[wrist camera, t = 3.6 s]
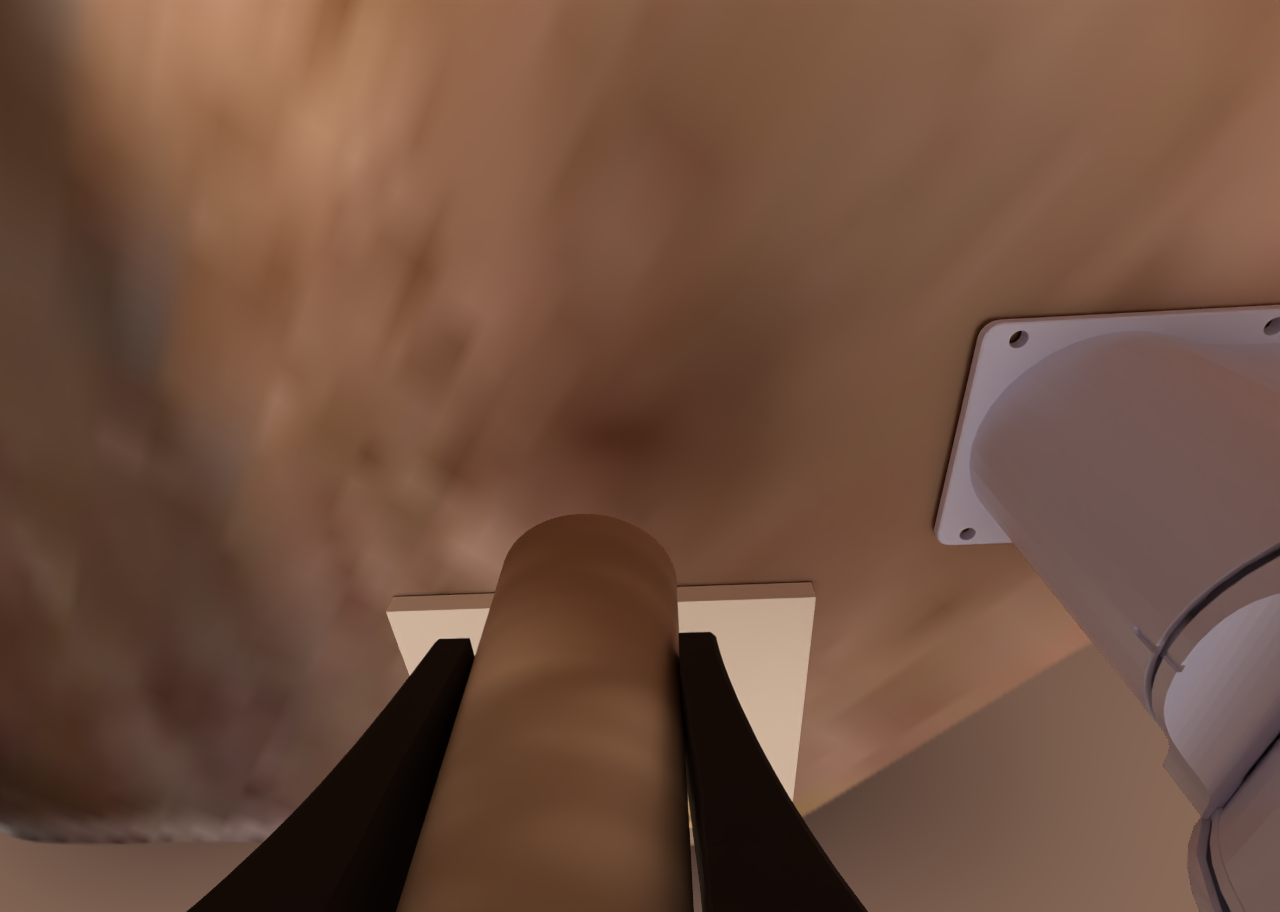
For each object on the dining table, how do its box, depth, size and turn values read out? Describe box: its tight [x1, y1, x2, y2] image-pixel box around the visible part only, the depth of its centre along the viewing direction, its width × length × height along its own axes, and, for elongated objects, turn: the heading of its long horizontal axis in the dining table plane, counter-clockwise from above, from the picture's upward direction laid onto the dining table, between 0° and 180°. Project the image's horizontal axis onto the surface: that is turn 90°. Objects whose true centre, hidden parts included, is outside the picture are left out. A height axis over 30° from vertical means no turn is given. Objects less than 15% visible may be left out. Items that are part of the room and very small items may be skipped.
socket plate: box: [386, 582, 816, 828], centre depth 26 cm, size 16×14×3 cm
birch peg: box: [396, 514, 694, 912], centre depth 11 cm, size 4×4×8 cm
